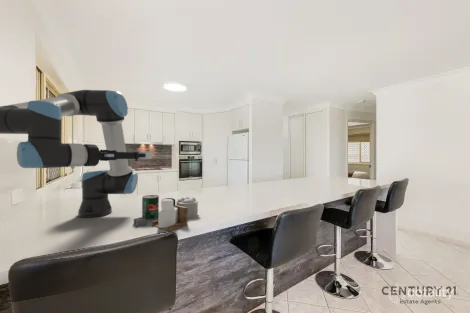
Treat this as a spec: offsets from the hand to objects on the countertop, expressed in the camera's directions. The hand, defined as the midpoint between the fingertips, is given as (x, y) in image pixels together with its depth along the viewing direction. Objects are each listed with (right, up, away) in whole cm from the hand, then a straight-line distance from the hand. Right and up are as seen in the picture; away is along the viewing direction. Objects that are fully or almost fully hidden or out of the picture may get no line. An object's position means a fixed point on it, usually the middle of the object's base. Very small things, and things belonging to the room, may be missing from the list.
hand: (141, 155), depth 90 cm
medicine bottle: (+9, -32, +8) cm, 34 cm away
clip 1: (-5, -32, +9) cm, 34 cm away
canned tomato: (-4, -32, +20) cm, 38 cm away
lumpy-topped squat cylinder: (+12, -32, +28) cm, 44 cm away
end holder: (+9, -32, +8) cm, 34 cm away
